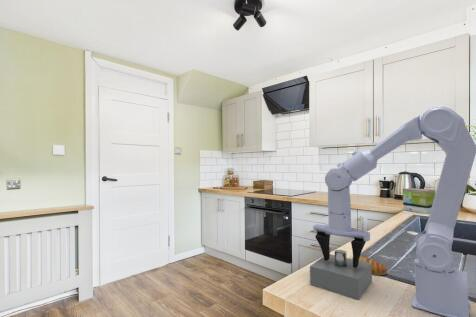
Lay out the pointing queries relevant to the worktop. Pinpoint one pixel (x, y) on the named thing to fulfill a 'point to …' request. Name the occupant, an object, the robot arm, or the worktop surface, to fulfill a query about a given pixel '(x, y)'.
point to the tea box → (418, 200)
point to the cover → (341, 275)
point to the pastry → (375, 266)
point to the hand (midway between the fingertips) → (340, 262)
